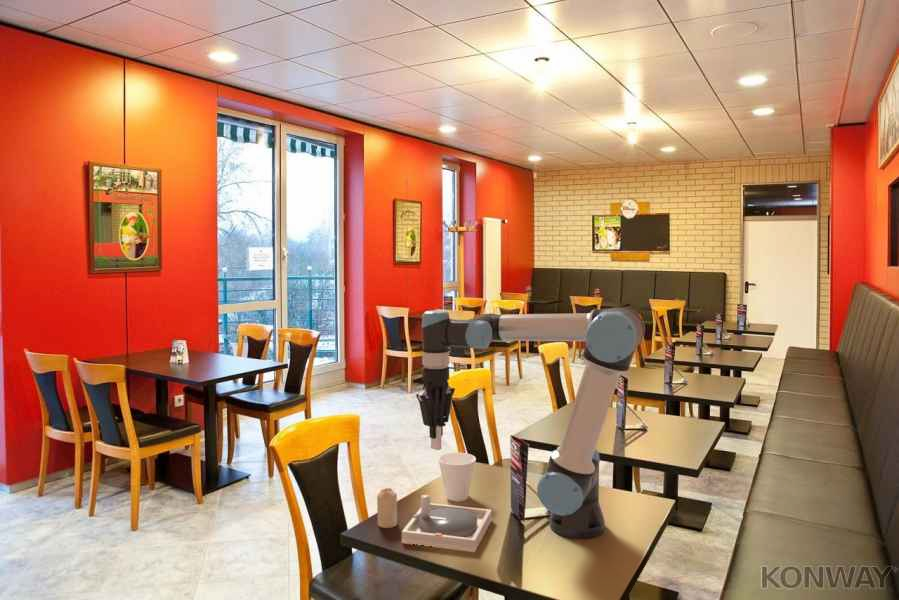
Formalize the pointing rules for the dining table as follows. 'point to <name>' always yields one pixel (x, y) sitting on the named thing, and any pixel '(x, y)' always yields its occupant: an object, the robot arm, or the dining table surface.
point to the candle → (387, 508)
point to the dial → (446, 520)
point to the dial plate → (470, 543)
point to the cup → (457, 474)
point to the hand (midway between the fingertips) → (436, 448)
